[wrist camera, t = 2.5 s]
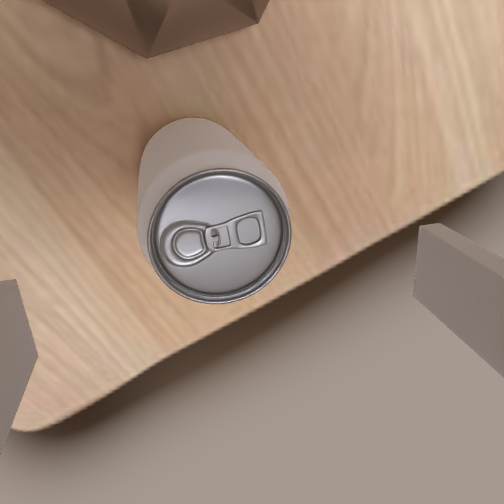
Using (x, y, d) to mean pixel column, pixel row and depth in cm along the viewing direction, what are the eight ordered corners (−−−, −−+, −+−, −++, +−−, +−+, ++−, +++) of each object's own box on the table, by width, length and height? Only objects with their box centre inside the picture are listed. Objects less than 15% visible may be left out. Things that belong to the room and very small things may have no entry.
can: (127, 127, 26) (113, 176, 16) (235, 106, 27) (292, 140, 17) (154, 228, 29) (158, 330, 18) (251, 207, 30) (310, 292, 19)
